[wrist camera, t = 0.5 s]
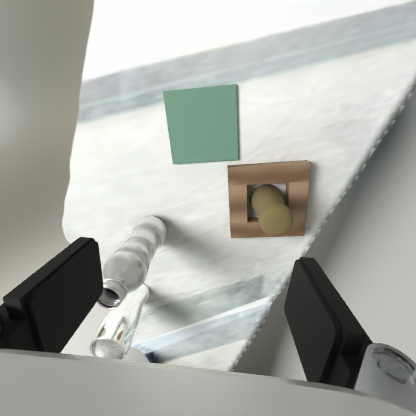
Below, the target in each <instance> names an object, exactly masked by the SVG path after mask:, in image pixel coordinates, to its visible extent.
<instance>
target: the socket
mask: <svg viewBox="0 0 416 416" xmlns="http://www.w3.org/2000/svg"><path fill="white" fill-rule="evenodd" d="M310 166H311V162H309V161H307V160H304V161H289V162H273V163H258V164H243V165H228V187H229V208H230V229H231V238H252V237H281V236H304V233H305V222H306V210H307V199H308V188H309V177H310ZM270 183H286V202H285V205H286V206H287V207H288V208H289V209H290V210H291V212H292V213H293V218H294V222H293V226H292V227H291V229H290V230H289V231H288V232H287V233H285V234H283V235H280V236H271V235H268V234H267V233H265V232H264V231H263V230H262V229H261V227H260V225H259V221H258V219H259V217H257V218H247V185H253V184H270Z"/></svg>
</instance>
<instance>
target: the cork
mask: <svg viewBox="0 0 416 416" xmlns="http://www.w3.org/2000/svg"><path fill="white" fill-rule="evenodd" d="M250 204H251V206H252V208H253V209H254V211H255V212H256V213H257V215H258V216H259V219H258V221H259V225H260V227H261V229H262V230H263V231H264V232H265V233H267V234H268V235H271V236H280V235H283V234H285V233H287V232H288V231H289V230H290V229H291V227H292V226H293V222H294V218H293V213H292V212H291V210H290V209H289V208H288V207H287V206H286V205H284V202H283V199H282V195H281V192H280V191H279V189H278V188H276V187H275V186H273V185H270V184H264V185H260V186H258V187H257V188H255V189H254V191H253V192H252V194H251V196H250Z"/></svg>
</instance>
